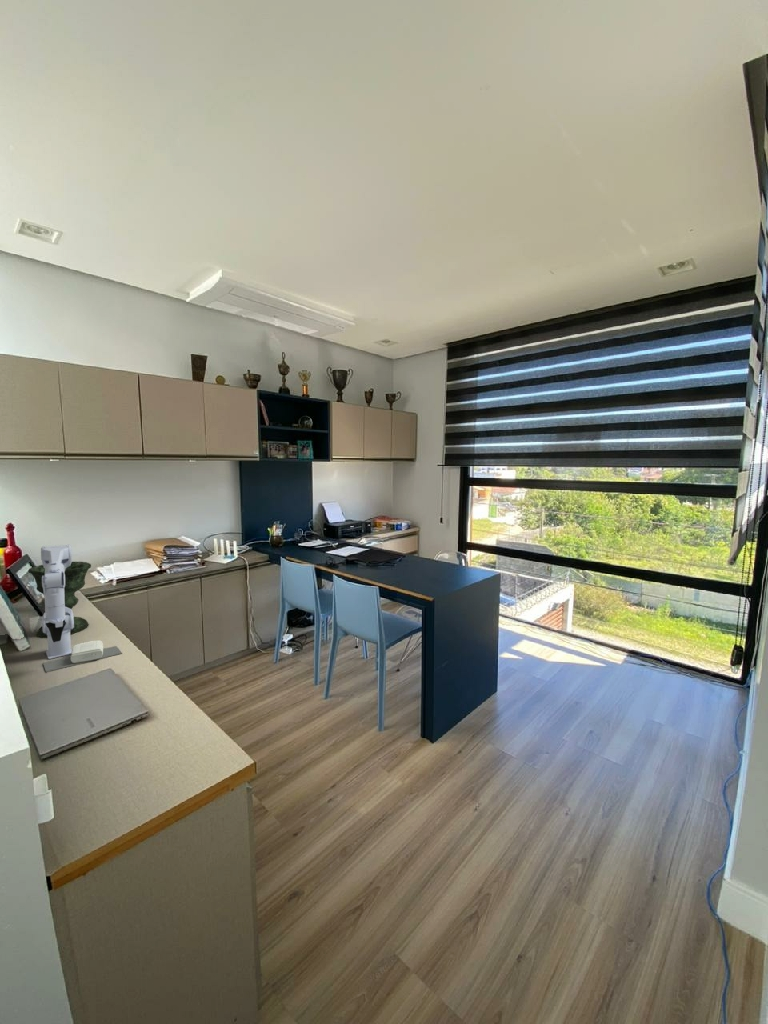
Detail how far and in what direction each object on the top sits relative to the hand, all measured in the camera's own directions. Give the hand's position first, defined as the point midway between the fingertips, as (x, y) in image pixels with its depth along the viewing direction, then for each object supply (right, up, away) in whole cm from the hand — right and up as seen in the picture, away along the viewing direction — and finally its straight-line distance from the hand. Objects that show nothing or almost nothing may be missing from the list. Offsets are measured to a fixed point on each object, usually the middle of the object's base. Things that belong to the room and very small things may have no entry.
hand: (56, 641), depth 155 cm
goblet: (-27, -7, +38) cm, 47 cm away
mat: (+3, -10, +9) cm, 14 cm away
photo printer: (+8, -8, +5) cm, 12 cm away
